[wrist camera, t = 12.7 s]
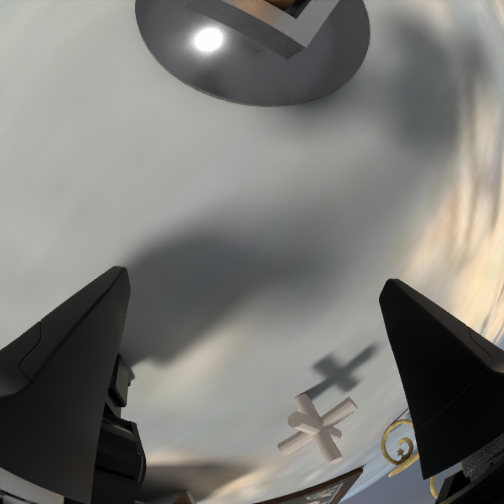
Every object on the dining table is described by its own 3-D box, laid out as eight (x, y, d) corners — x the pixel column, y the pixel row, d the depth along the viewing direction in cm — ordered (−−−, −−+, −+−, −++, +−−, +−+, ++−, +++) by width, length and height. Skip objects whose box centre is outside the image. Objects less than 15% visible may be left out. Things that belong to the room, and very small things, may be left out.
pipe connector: (314, 358, 28) (359, 427, 19) (348, 386, 32) (386, 439, 23) (245, 408, 28) (270, 480, 19) (290, 427, 33) (317, 483, 24)
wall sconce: (393, 409, 41) (460, 495, 19) (420, 399, 45) (481, 473, 22) (359, 448, 45) (409, 526, 23) (386, 437, 49) (435, 506, 26)
